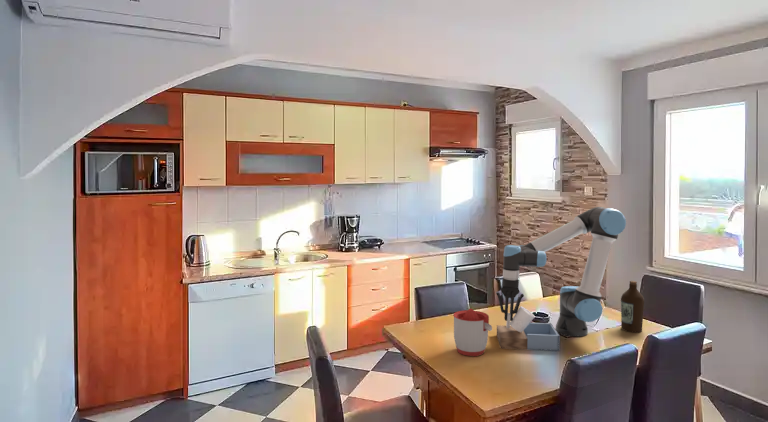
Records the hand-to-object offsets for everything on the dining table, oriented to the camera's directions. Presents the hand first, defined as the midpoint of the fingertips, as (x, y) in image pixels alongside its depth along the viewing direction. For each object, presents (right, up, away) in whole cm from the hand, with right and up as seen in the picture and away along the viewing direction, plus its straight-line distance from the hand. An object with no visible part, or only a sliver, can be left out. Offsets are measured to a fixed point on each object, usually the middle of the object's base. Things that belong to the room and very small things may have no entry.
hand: (508, 327), depth 225 cm
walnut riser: (+2, -7, 0) cm, 7 cm away
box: (+15, -7, -1) cm, 16 cm away
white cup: (+3, -1, 0) cm, 3 cm away
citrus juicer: (-19, -9, -12) cm, 24 cm away
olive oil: (+68, -6, +17) cm, 70 cm away
